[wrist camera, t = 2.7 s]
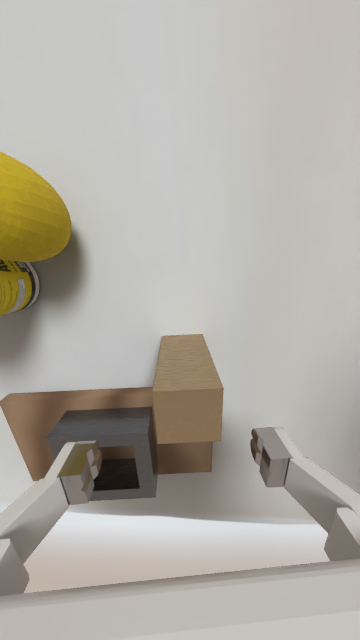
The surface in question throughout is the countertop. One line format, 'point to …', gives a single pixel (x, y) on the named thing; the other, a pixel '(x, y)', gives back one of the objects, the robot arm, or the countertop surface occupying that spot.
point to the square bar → (187, 392)
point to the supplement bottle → (17, 286)
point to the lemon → (30, 214)
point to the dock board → (48, 407)
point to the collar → (114, 431)
